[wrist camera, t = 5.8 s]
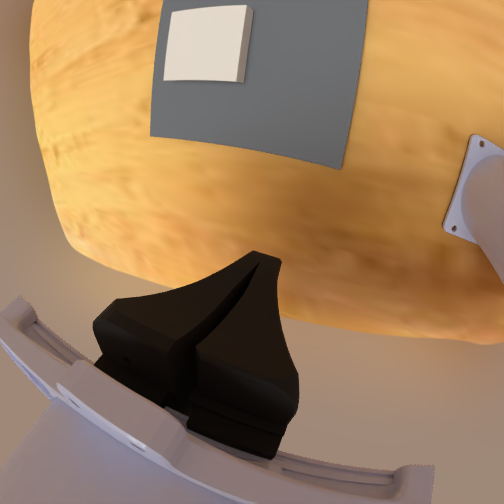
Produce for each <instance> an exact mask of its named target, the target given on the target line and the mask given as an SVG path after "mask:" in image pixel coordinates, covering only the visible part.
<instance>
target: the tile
mask: <svg viewBox="0 0 504 504" xmlns="http://www.w3.org/2000/svg"><path fill="white" fill-rule="evenodd" d="M253 12H254V10H252V9H251V8H250V7H249V6H247V5H232V6H216V7H205V8H196V9H189V10H182V11H176V12H172V15H171V21H170V28H169V35H168V42H167V51H166V59H165V69H164V80H163V81H225V82H240V83H244V77H245V69H246V62H247V54H248V47H249V40H250V33H251V26H252V19H253Z"/></svg>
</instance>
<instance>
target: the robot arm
mask: <svg viewBox="0 0 504 504" xmlns="http://www.w3.org/2000/svg"><path fill="white" fill-rule="evenodd" d="M480 141H482V142H483V145H482V146H481V147H480V145H479V143H480ZM452 226H456V227H455V229H453V230H451V229H452ZM443 228H444V230H445V231H446V232H448V233H450V234H453V235H455V236H458V237H460V238H463V239H465V240H468V241H470V242H472V243H475V244H477V245H479V246H480V248H481V249H482V250H483V252H484V253H485V255H486V256H487V258H488V260H489V261H490V263H491V264H492V266H493V267H494V269H495V271H496V272H497V274H498V276H499V277H500V279H501V281H502V282H503V284H504V149H502V148H500V147H499V146H497V145H495V144H493V143H492V142H490V141H488V140H486V139H485V138H483V137H481V136H479V135H476V134H473V135H471V137H470V140H469V145H468V149H467V152H466V156H465V160H464V163H463V167H462V170H461V174H460V177H459V180H458V183H457V186H456V189H455V192H454V195H453V198H452V201H451V204H450V206H449V209H448V212H447V214H446V217H445V219H444V222H443ZM281 263H282V261H281V260H280V259H279V258H276V257H273V256H269V255H266V254H263V253H260V252H257V251H251V252H250V253H248V254H246V255H245V256H243V257H242V258H240V259H239V260H237V261H235V262H234V263H232V264H230V265H229V266H227V267H225V268H224V269H222V270H220V271H218V272H216V273H214V274H212V275H210V276H208V277H206V278H204V279H202V280H200V281H197V282H195V283H192V284H189V285H186V286H183V287H180V288H177V289H173V290H170V291H167V292H162V293H158V294H153V295H147V296H141V297H131V298H123V299H122V298H121V299H116V300H114V301H113V302H112V303H111V304H110V305H109V306H108V307H107V308H106V309H105V310H104V311H103V312H102V313H101V314H100V315H99V316H98V317H97V318H96V319H95V320H94V321H93V331H94V335H95V337H96V339H97V342H98V344H99V346H100V349H101V351H102V353H103V354H102V356H101V357H100V358H99V359H98V360H97V361H96V363H94V362H92V361H91V360H89V359H88V358H87V357H85V356H84V355H83V354H81V353H80V352H79V351H77V350H76V349H75V348H73V347H72V346H71V345H69V344H68V343H67V342H66V341H64V340H63V339H61V338H60V337H59V336H58V335H57V334H56V333H54V332H53V331H52V330H51V329H50V328H49V327H47V326H46V325H45V324H44V323H43V322H42V321H40V320H39V319H38V316H37V314H36V312H35V310H34V308H33V307H32V305H31V304H30V303H29V302H27V301H26V300H25V299H24V298H23V297H22V296H21V295H19V296H18V297H17V298H16V299H15V300H13V301H12V302H11V303H10V304H9V305H8V306H7V307H5V308H4V309H3V310H2V311H1V312H0V343H1V344H2V346H3V347H4V349H5V350H6V352H7V353H8V354H9V356H10V357H11V358H12V359H13V361H14V362H15V363H16V364H17V365H18V367H19V368H20V369H21V370H22V371H23V372H24V373H25V375H26V376H27V377H28V378H29V379H30V380H31V381H32V382H33V383H34V384H35V385H36V386H37V387H38V389H40V390H41V392H43V394H44V395H45V396H47V398H49V400H50V401H52V403H51V404H50V405H49V406H48V408H47V409H46V410H45V411H44V413H43V414H42V415H41V416H40V418H39V419H38V420H37V422H36V423H35V424H34V425H33V426H32V428H31V429H30V430H29V431H28V433H27V434H26V435H25V437H24V438H23V439H22V441H21V442H20V443H19V445H18V446H17V447H16V449H15V450H14V451H13V453H12V454H11V455H10V457H9V458H8V459H7V461H6V462H5V464H4V465H3V466H2V468H1V469H0V504H431V499H432V490H433V481H434V470H435V466H434V465H406V466H402V467H400V468H398V469H397V470H395V471H389V470H378V469H368V468H360V467H353V466H346V465H340V464H334V463H329V462H324V461H319V460H314V459H310V458H306V457H301V456H297V455H293V454H289V453H286V452H282V451H279V450H278V448H279V445H280V442H281V439H282V437H283V436H284V434H285V431H286V428H287V425H288V424H289V422H290V421H291V419H292V418H293V417H294V415H295V414H296V412H297V409H298V403H299V378H298V372H297V370H296V368H295V366H294V363H293V361H292V359H291V356H290V353H289V351H288V348H287V345H286V342H285V338H284V334H283V331H282V326H281V321H280V316H279V309H278V298H277V279H278V275H279V271H280V267H281Z"/></svg>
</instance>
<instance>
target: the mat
mask: <svg viewBox="0 0 504 504" xmlns="http://www.w3.org/2000/svg"><path fill="white" fill-rule="evenodd" d="M232 5H247V6H249V7H250V8H251V9H252V10H254V12H253V19H252V26H251V33H250V40H249V47H248V54H247V62H246V69H245V77H244V83H240V82H225V81H163V80H164V69H165V59H166V51H167V42H168V35H169V28H170V21H171V15H172V12H176V11H182V10H189V9H196V8H205V7H216V6H232ZM367 6H368V0H163V6H162V11H161V17H160V24H159V31H158V38H157V45H156V54H155V63H154V74H153V86H152V102H151V124H150V136H153V137H164V138H174V139H183V140H191V141H199V142H207V143H214V144H220V145H227V146H233V147H239V148H245V149H250V150H256V151H261V152H266V153H271V154H276V155H281V156H285V157H290V158H294V159H299V160H303V161H307V162H311V163H316V164H320V165H323V166H327V167H331V168H335V169H339V170H341V165H342V161H343V156H344V152H345V147H346V142H347V138H348V133H349V128H350V123H351V118H352V112H353V107H354V101H355V96H356V90H357V84H358V78H359V71H360V65H361V58H362V50H363V43H364V35H365V26H366V16H367Z"/></svg>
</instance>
